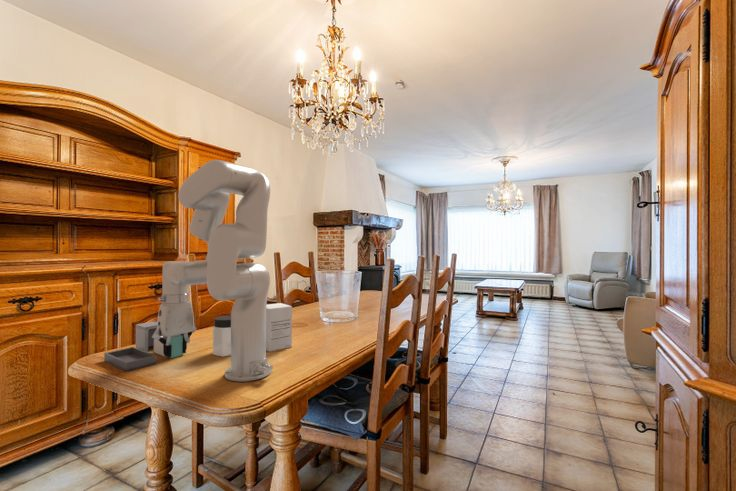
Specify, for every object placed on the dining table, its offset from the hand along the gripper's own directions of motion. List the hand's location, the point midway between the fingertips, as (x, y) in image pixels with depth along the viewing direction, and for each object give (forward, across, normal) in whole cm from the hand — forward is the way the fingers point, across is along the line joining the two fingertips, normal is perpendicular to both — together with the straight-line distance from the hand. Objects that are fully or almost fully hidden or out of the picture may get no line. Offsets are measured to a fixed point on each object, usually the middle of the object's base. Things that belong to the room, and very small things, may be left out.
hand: (175, 354), depth 113 cm
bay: (+1, +4, +16) cm, 16 cm away
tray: (+1, -11, +6) cm, 12 cm away
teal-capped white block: (+1, 0, +6) cm, 6 cm away
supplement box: (+1, +26, -18) cm, 32 cm away
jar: (+1, +12, -10) cm, 16 cm away
